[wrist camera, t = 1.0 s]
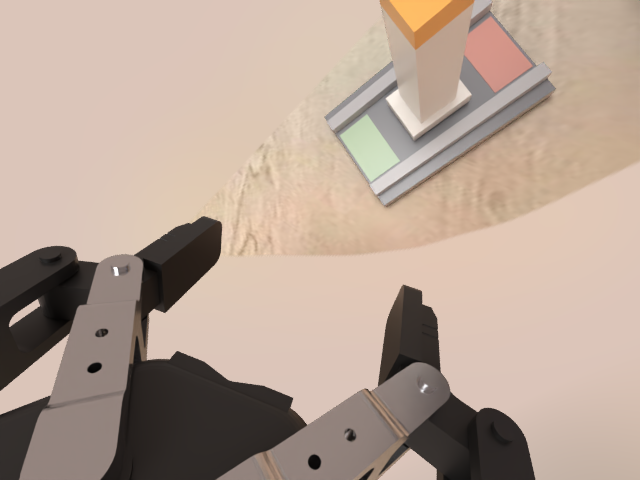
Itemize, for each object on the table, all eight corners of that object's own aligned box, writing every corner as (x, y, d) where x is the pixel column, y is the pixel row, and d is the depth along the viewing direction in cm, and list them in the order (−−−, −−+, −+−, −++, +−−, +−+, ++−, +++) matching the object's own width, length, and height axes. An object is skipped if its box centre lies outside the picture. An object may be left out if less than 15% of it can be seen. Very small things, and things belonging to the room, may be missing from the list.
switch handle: (440, 63, 26) (450, -100, 13) (469, 100, 25) (509, -33, 12) (387, 104, 27) (351, -8, 15) (414, 141, 26) (400, 57, 14)
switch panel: (472, 5, 26) (476, -17, 24) (548, 97, 25) (561, 82, 22) (329, 122, 31) (320, 113, 28) (386, 207, 29) (382, 204, 27)
